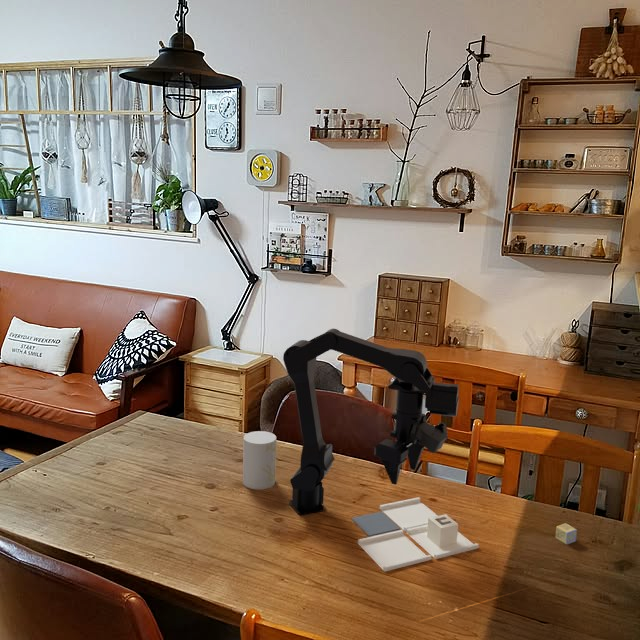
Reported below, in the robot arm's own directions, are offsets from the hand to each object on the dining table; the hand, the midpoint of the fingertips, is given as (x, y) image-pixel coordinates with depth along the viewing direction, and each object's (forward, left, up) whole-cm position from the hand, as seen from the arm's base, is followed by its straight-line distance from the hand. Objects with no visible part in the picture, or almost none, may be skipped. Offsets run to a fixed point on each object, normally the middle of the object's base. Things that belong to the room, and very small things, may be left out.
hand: (403, 476), depth 142 cm
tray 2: (-7, -9, -12) cm, 16 cm away
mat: (-5, +2, -12) cm, 13 cm away
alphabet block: (+31, -19, -12) cm, 38 cm away
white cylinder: (-22, +31, -12) cm, 40 cm away
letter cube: (+5, -9, -11) cm, 15 cm away
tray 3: (+5, -9, -12) cm, 16 cm away
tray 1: (+5, +2, -12) cm, 13 cm away
